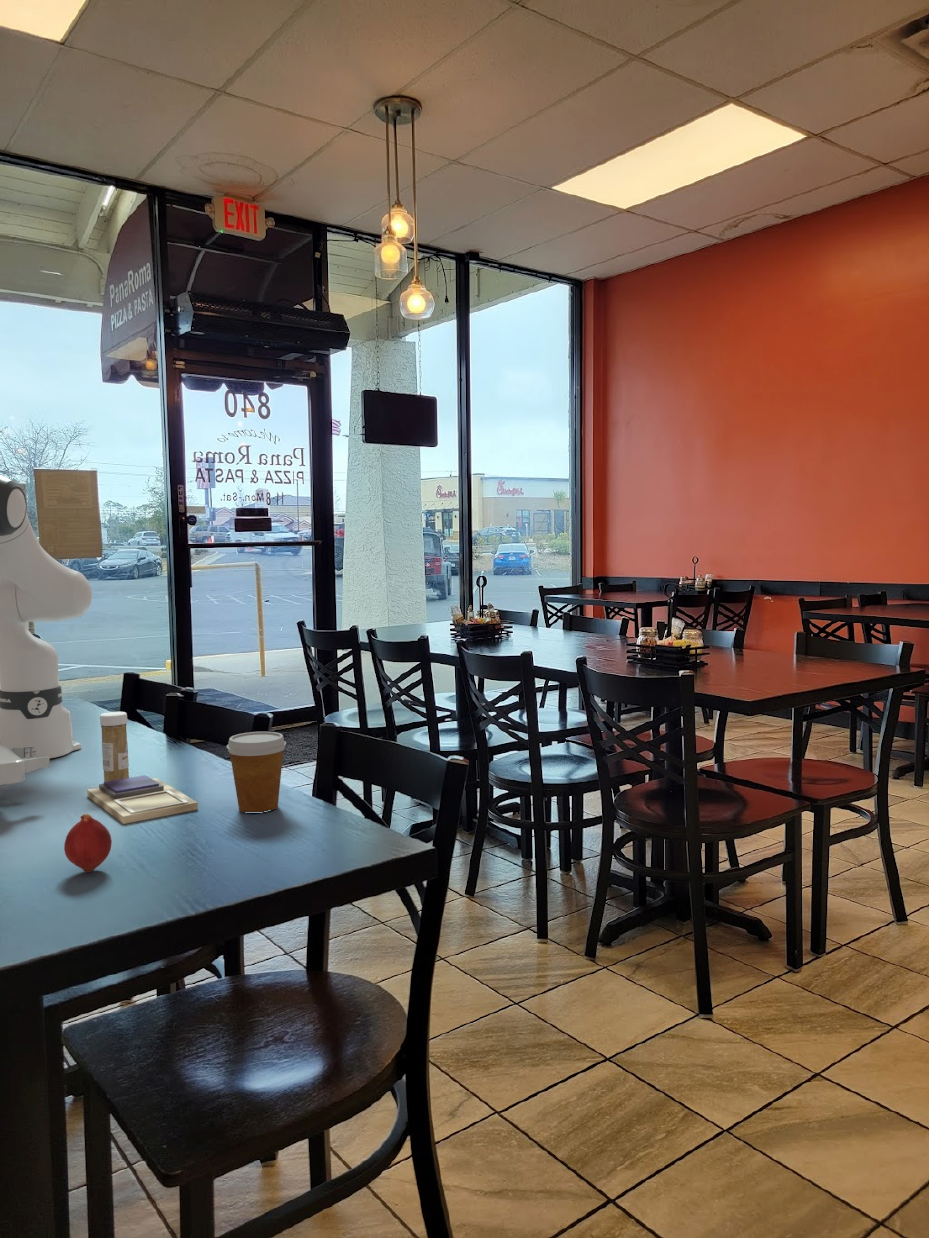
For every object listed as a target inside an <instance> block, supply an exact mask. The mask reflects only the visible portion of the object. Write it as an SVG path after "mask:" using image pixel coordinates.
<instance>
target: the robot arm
mask: <svg viewBox="0 0 929 1238" xmlns="http://www.w3.org/2000/svg"><path fill="white" fill-rule="evenodd" d="M92 593H93V592H92V587H91V585H90V582H89V580H88V579H87V577H85V575H84V574H83V573H82V572H80V571H77V570H75V569H72V568H70V567H68V566H66V565H65V564H62V563H61V562H59V561H57V560H56V559H55V558H53V557H52V556H51V555H50V554H49V553H48V552H47V551H46V550H45V549H44V548H43V547H42V546H41V544H40V542H39V540H38V538H37V536H36V534H35V532H34V530H33V527H32V524H31V521H30V518H29V516H28V513H27V498H26V494H25V492H24V490H23V489H22V488H21V486H20V485H19V484H18V483H16V482H15V481H14V480H13V479H9V478H7V477H5V476H3V475H2V474H0V786H6V785H14V784H18V783H22V782H24V781H26V774H27V773H32V772H34V771H37V770H39V769H45V768H49V767H50V765H51V764H50V763H51V761H50V759H54V758H58V757H62V756H66V755H68V754H69V753H71V752H73V751H77V750H80V749H82V744H81V742H77V741H74V736H73V735H74V734H73V727H72V726H73V725H72V716H71V711H70V710H68V709H67V708H66V707H64V706H63V705H62V702H63V691H62V686H61V685H60V677H59V674H60V673H59V658H58V653H57V650H56V649H55V647H54V646H53V645H52V644H50V643H49V642H48V641H45V640H44V639H41V638H39V637H36V636H35V635H33V633H32V632H31V631H30V630H29V628H28V625H27V623H30V622H33V623H35V622H37V623H38V622H42V623H43V622H62V621H67V620H72V619H74V618H81V617H82V616H84V614H86V612H87V611H88V610H89V608H90V605H91V603H92V599H93V598H92V597H93V594H92Z"/></svg>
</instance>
